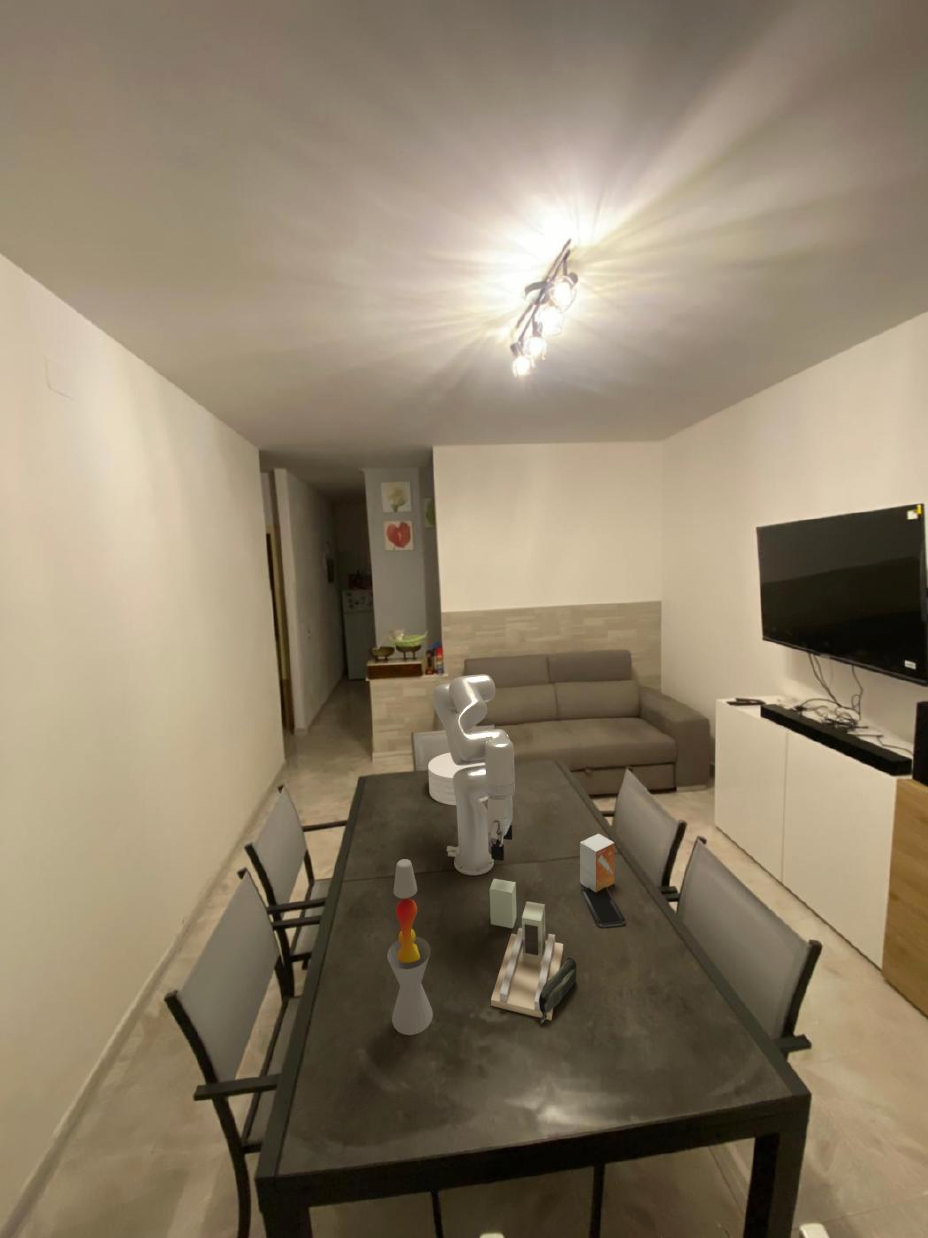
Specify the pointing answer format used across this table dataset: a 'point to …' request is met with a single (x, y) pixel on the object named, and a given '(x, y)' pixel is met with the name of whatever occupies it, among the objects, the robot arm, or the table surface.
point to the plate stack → (445, 778)
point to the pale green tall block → (502, 903)
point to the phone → (603, 908)
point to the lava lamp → (409, 959)
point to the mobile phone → (557, 987)
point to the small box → (597, 862)
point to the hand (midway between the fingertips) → (502, 848)
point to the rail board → (527, 965)
